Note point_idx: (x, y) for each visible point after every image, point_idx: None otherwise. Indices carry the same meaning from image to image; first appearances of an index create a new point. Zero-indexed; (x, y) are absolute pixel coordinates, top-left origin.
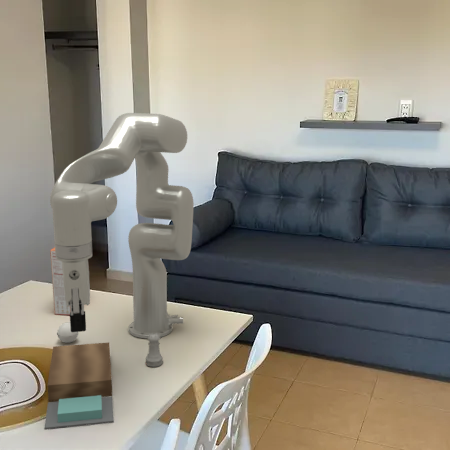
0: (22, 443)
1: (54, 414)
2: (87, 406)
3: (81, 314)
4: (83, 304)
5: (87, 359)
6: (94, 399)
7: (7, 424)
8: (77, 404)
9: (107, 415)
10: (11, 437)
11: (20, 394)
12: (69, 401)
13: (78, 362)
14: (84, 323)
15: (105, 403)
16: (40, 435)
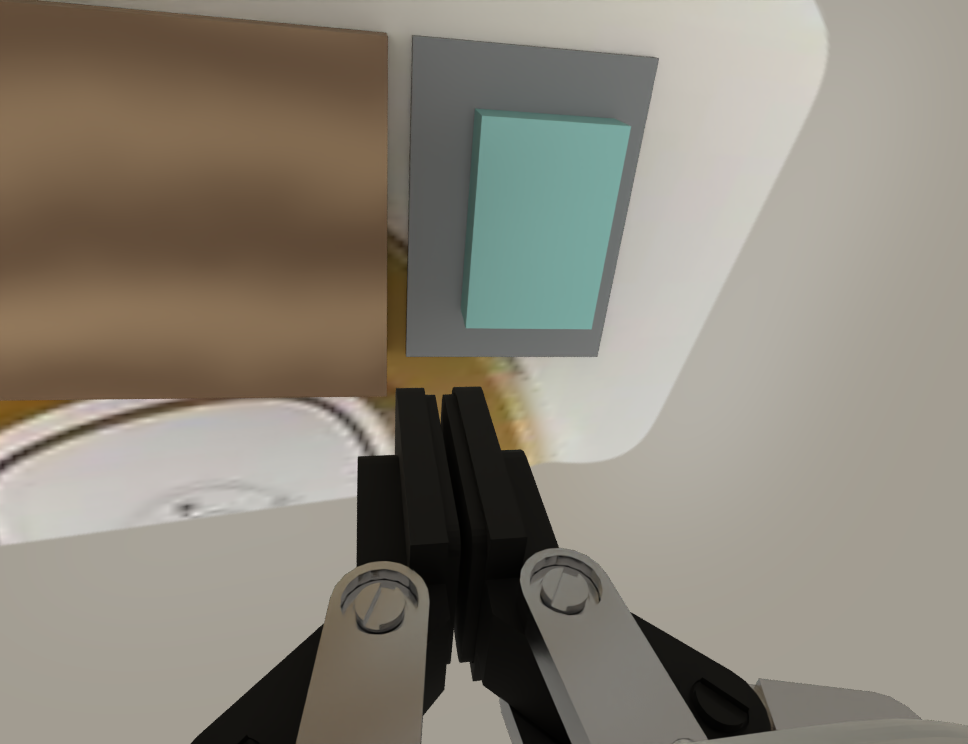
0: (649, 411)
1: None
2: (574, 198)
3: (594, 589)
4: (424, 675)
5: (54, 188)
6: (516, 158)
7: None
8: (539, 246)
9: (599, 86)
10: (600, 445)
11: (302, 455)
12: (500, 282)
13: (107, 249)
14: (494, 448)
15: (481, 86)
16: (626, 363)
